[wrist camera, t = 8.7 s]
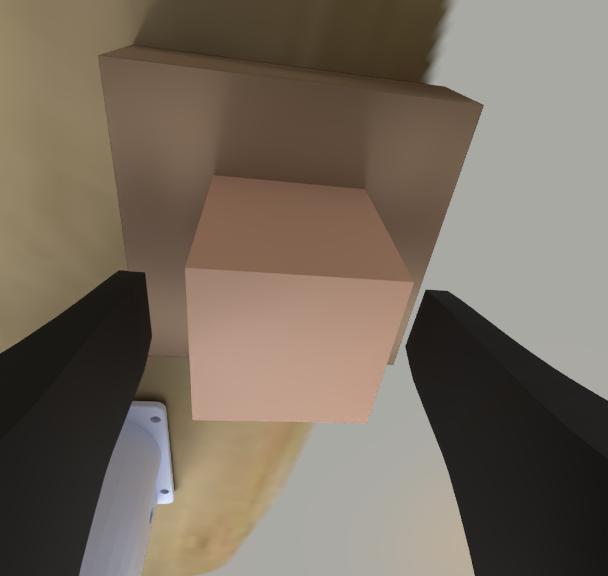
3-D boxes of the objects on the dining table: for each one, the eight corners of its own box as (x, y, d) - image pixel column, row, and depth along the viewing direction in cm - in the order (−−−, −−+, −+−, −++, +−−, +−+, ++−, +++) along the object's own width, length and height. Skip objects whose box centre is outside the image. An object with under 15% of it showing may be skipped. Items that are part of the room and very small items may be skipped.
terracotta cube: (339, 307, 15) (367, 422, 11) (213, 300, 14) (192, 420, 10) (365, 189, 12) (414, 282, 8) (213, 175, 12) (184, 267, 8)
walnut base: (377, 318, 19) (393, 364, 17) (157, 307, 18) (140, 355, 15) (444, 86, 14) (483, 105, 11) (131, 45, 12) (98, 55, 10)
